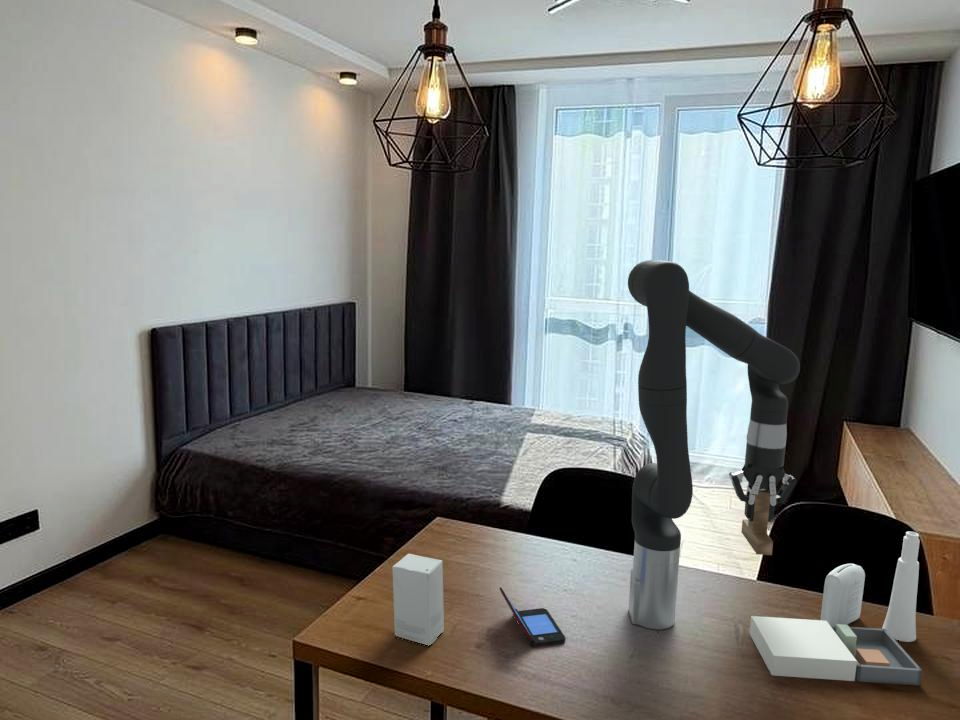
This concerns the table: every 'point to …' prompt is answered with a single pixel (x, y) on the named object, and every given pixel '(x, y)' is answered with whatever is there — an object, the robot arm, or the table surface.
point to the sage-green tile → (847, 637)
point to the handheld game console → (537, 625)
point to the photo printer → (843, 595)
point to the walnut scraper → (759, 525)
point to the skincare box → (418, 598)
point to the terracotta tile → (871, 657)
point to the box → (900, 661)
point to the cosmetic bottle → (904, 592)
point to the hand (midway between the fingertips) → (758, 519)
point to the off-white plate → (802, 648)
